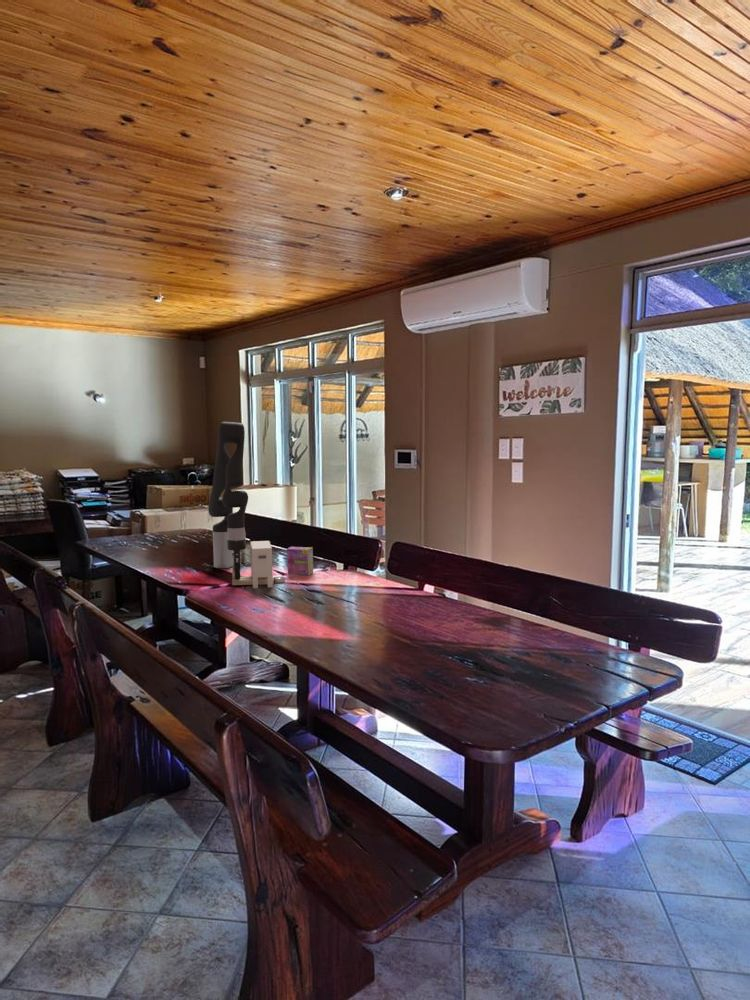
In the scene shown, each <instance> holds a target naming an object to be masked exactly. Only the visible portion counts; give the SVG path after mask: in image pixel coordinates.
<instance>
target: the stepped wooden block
mask: <svg viewBox="0 0 750 1000" xmlns="http://www.w3.org/2000/svg"><path fill="white" fill-rule="evenodd" d="M235 567H239V566H235ZM231 569H232V579H231V580H232V581H231V582H232V584H231V585H232V586H247V585H248V586H249V585H250V586H251V585H252V586H253V576H251V575H249V576H241V575H240V579H238V580H236V579H235V571H234V565H233V564H232V567H231ZM272 577H273V578H274V576H273V575H272ZM274 584H275V583H274V579H273V585H274ZM258 585H268V584H267V577H258Z"/></svg>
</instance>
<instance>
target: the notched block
mask: <svg viewBox="0 0 750 1000" xmlns="http://www.w3.org/2000/svg"><path fill="white" fill-rule="evenodd" d="M271 545H272V544H271V541H270V540H259V541H258V540H256V541H255V540H253V541H250V569H251V570H250V572H251V573H250V574H251V575H250V576H253V585H252V589H258V588H259V584H258V577H267V584H266V585H267V588H268V589H269V588H273V587H274V586H273V585H274V584H273V578H274V576H273V548H272V546H271ZM272 576H273V577H272Z"/></svg>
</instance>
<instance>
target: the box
mask: <svg viewBox="0 0 750 1000" xmlns="http://www.w3.org/2000/svg"><path fill="white" fill-rule="evenodd" d="M286 557H287V558H286V560H287V561H286V562H287V563H286V564H287V575H299V576H301V575H302V576H310V575H311V574H313V573H314V550H313V547H310V546H309V547H308V546H307V547H305V546H304V547H303V546H290V547H288V548H286Z"/></svg>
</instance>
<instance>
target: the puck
mask: <svg viewBox="0 0 750 1000" xmlns="http://www.w3.org/2000/svg"><path fill="white" fill-rule="evenodd" d="M273 579H274V584H283V583H285V582H286V577H284V576H275V577H274V576H273Z"/></svg>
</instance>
